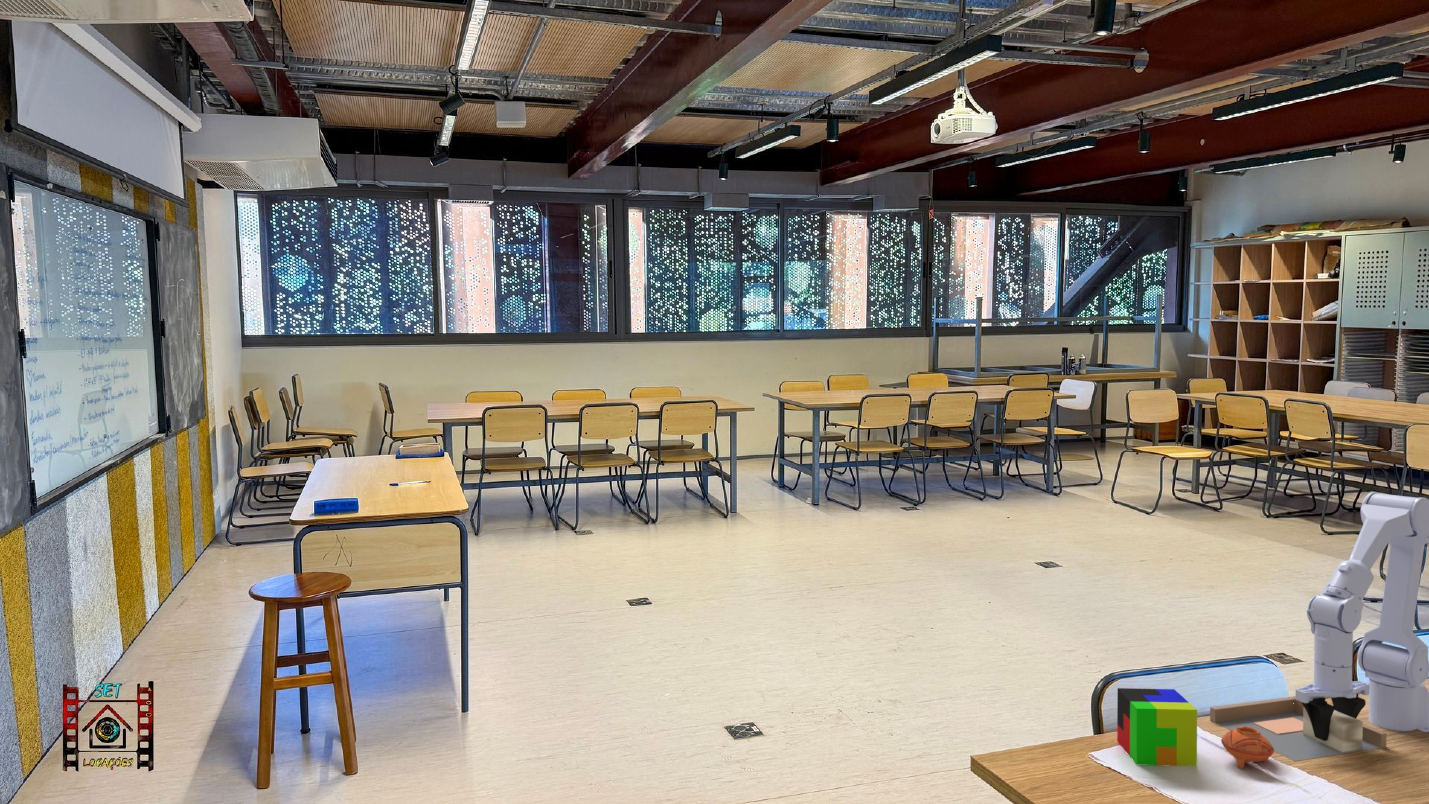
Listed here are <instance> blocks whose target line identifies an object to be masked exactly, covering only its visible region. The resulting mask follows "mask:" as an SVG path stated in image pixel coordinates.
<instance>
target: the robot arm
mask: <svg viewBox="0 0 1429 804" xmlns="http://www.w3.org/2000/svg"><path fill="white" fill-rule="evenodd" d="M1360 517H1361V518H1360V519H1361V522H1362V524H1363V525H1362V527H1361V530H1360V531H1359V534H1358V537H1357V539H1356V541H1355V544H1354V546H1353V549H1352V551H1351V554H1350V556H1349V557H1348V559H1347V560H1343V561H1340V562H1338V564H1337V566H1336V568H1335V570H1333V574H1332V575H1331V577H1330V578H1329V580H1328V582H1327V583H1326V584H1327V585H1326V586H1325V587H1324V590H1323V591H1322V593H1320V594H1318V595H1315V596H1313V597H1312V598H1311V599H1310V601H1309V602H1308V607H1307V610H1306V616H1307V619H1308V621H1309V623H1310V632H1311V634H1313V635H1314V636H1313V637H1314V641H1313V642H1314V643H1313V645H1314V646H1313V647H1314V649H1313V651H1314V652H1313V661H1314V662H1313V682H1311V683H1309V684H1307V685H1305V686H1302V687H1300V688H1295V697H1296V698H1295V699H1296V700H1298V701H1300V702H1301V703H1302V704H1303V706H1304V708H1305V709H1306V711H1307V713H1308V716H1309V718H1310V721H1311V724H1312V728H1313V731H1314V735H1315V737H1317V738H1319V739H1321V740H1323V741H1327V740H1328V736H1329V728H1330V721H1331V717H1332V714H1333V712H1334V710H1335V711H1338V712H1340V713H1343V714H1345V715H1348V716H1350V717H1353V718H1355V719H1357V718H1358V716H1359V714H1360V713H1361V711H1362V710H1363V709H1364V707H1365V706H1366V699H1364V698H1362V697H1360V696H1359V695H1363V696H1368V722H1370V723H1371V724H1372V725H1374V726H1377V727H1379V728H1383V729H1385V730H1391V731H1397V732H1411V731H1415V730H1419V731H1420V732H1424V733H1429V689H1428V688H1427V687H1426V685H1425V684H1424V683H1425V682H1426V681H1427V679H1428V676H1429V646H1428V645H1427V644H1426V643H1425V642H1424V641H1423V640H1422V639H1421V638H1419V637H1418V636H1417V635H1416V634H1415V633H1414V631H1413V630H1414V622H1415V617H1416V616H1415V615H1416V608H1417V602H1418V594H1419V588H1420V587H1419V586H1420V581H1421V573H1422V567H1423V566H1422V564H1423V558H1424V551H1425V545H1426V544H1429V499H1428V498H1427V497H1414V496H1406V495H1405V496H1403V495H1398V494H1397V495H1395V494H1389V493H1388V494H1387V493H1379V492H1377V491H1372V492H1369V493H1368V494H1366V496H1365V497H1364V498H1363V500H1362V503H1361V507H1360ZM1388 544H1390V549H1389V553H1388V554H1389V555H1388V563H1387V569H1386V576H1385V583H1384V590H1383V596H1382V597H1383V598H1382V605H1381V611H1380V617H1379V618H1380V619H1379V625H1378V626H1377V627H1375V628H1373V629H1371V630H1368V631H1366V632H1365V633H1364V635H1363V638H1362V641H1361V644H1360V646H1359V648H1358V651H1357V663H1358V667H1359V668H1360V669H1361V671H1363V672H1364V677H1365V678H1368V683H1367V682H1363V681H1361V680H1357V681H1356V680H1355V681H1353V646H1354V645H1353V644H1354V643H1353V641H1354V638H1353V637H1354V634H1353V633H1354V631H1355V630H1357V629H1358V627H1359V626H1360V624H1361V622H1362V621H1361V620H1362V610H1363V608H1364V604H1363V603H1362V602H1363V600H1364V598H1365V596H1366V595H1367V593H1368V591H1369V589H1370V587H1371V585H1372V583H1373V581H1374V579H1375V576H1374V574H1373V573H1372V570H1371V569H1372V568H1373V566H1374V565H1375V564H1376V562H1377V560H1378V559H1379V557H1380V556H1381V554H1382V553H1383V551H1384V550H1385V549H1386V547H1387V546H1388ZM1383 642H1384V643H1383ZM1392 644H1393V645H1392ZM1396 645H1397V646H1396ZM1398 646H1400V647H1398ZM1327 699H1331V702H1332V704H1329V703H1328V701H1326V700H1327Z"/></svg>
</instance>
